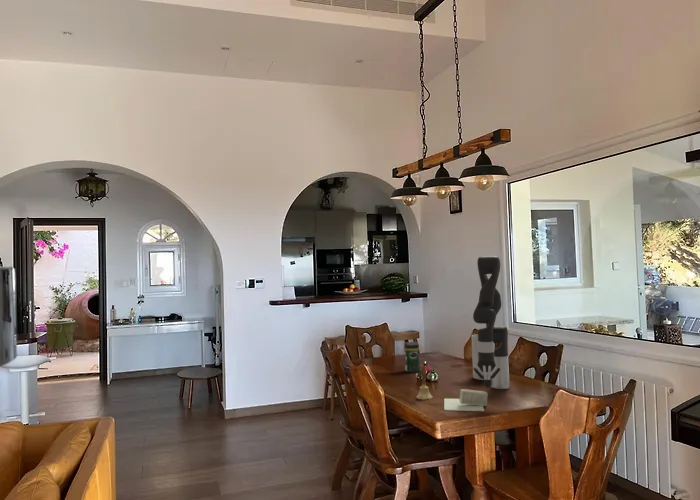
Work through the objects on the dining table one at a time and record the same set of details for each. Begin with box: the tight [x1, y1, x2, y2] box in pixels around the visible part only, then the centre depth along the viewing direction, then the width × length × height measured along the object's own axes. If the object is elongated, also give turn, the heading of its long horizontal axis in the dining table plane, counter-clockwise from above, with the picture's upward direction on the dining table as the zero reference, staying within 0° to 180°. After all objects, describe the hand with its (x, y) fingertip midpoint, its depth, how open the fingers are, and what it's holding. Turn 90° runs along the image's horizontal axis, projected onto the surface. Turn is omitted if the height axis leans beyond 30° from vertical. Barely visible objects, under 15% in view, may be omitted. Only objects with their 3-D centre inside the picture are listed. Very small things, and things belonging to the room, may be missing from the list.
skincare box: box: [459, 388, 489, 407], centre depth 246 cm, size 6×4×12 cm
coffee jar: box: [403, 341, 421, 373], centre depth 332 cm, size 10×8×19 cm
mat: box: [443, 398, 485, 412], centre depth 249 cm, size 20×18×1 cm
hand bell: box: [415, 365, 433, 400], centre depth 265 cm, size 8×8×16 cm
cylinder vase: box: [471, 333, 495, 381], centre depth 306 cm, size 12×12×25 cm
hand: (487, 387), depth 247 cm, fingers closed
